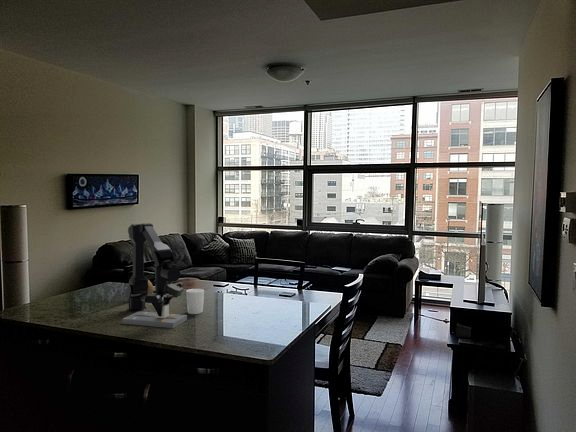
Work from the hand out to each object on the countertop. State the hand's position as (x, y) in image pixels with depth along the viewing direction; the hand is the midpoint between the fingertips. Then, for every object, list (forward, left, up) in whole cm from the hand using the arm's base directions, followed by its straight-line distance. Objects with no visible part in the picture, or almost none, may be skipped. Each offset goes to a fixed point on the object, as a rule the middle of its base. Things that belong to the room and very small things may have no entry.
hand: (162, 315), depth 181 cm
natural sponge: (-30, +35, -3) cm, 46 cm away
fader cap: (0, 0, -1) cm, 1 cm away
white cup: (+6, +18, -3) cm, 19 cm away
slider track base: (-3, 0, -3) cm, 4 cm away
